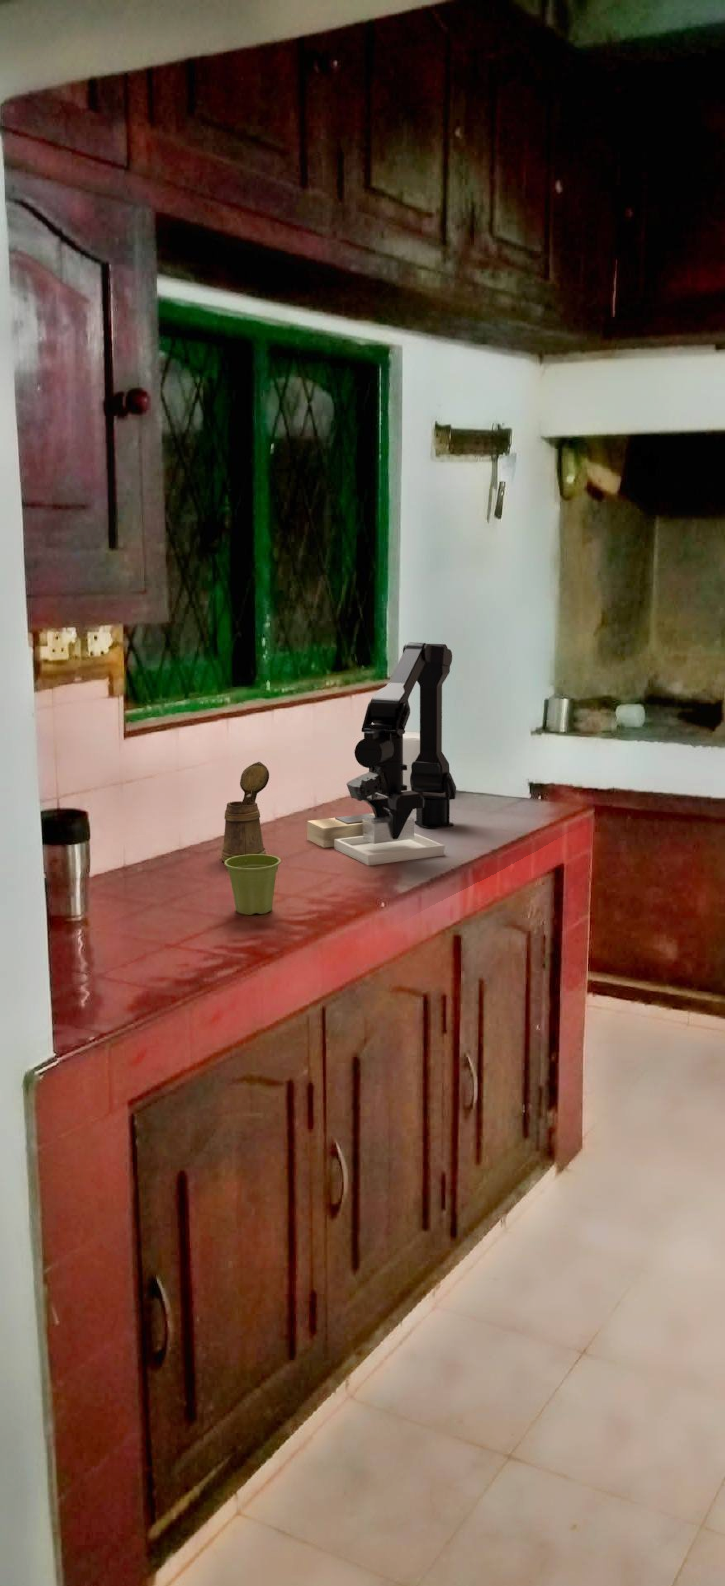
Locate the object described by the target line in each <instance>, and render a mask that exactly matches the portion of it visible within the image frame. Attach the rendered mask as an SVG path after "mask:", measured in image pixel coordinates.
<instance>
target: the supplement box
mask: <svg viewBox="0 0 725 1586" xmlns="http://www.w3.org/2000/svg"><path fill="white" fill-rule="evenodd" d="M419 754H420V732H415V731H413V732H412V731H405V734H403V764H405V765H407V770H403V784H404V785H407V791H411V784H410V775H411V772H412V769H411V765H412V763H413V762H415V760H416V758H417V757H418V755H419ZM401 792H404V791H401Z"/></svg>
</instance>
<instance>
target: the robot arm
mask: <svg viewBox="0 0 725 1586" xmlns="http://www.w3.org/2000/svg"><path fill="white" fill-rule="evenodd" d="M452 661H453V652H452V650H451V649H450V648H449V647H448V646H447V644H445V643H426V642H408V643H405V644H404V645H403V648H402V655H401V657H400V659H399V661H398V663H397V665H396V667H395V668H394V670H393V673H392V674H391V677H390V678H389V681H388V683H387V684H386V686H384V687H381V688H380V689H378V690H377V691H376V692H375V693H374V695H373V696H372V698H371V699H370V701H369V702H368V705H367V707H366V711H365V715H364V718H363V723H362V727H361V733H363V738H362V739H361V740H359V741H358V742H357V743H356V746H355V749H354V757H355V760H356V762H357V763H358V764H359V765H360V766H362V767H364V768H366V769H368V772H366V773H363V774H361V775H359V776H357V777H355V778H353V779H351V780H349V781H348V782H346V786H347V790H348V793H349V795H350V798H351V799H355V800H357V801H358V802H362V801H363V802H365V803H366V804H367V805H369V806H370V807H371V809H372V813H374V816H375V818H377V817H385V816H390V825H391V833H392V838H393V839H398V837H399V835H400V833H401V831H402V829H403V827H404V825H405V823H406V821H407V819H408V817H410V816H411V814H412V812H413V810H416V817H415V819H416V820H414V825H418V826H420V827H423V828H425V829H438V828H445V827H451V826H452V827H453V826H454V823H453V822H451V821H450V813H451V812H450V810H451V809H450V808H451V806H450V805H451V804H450V803H451V802H450V801H451V800H456V795H457V786H456V784H455V781H454V778H453V775H452V774H451V772H450V763H449V761H448V759H447V758H446V756H445V755H444V753H443V739H442V738H443V720H442V719H443V684H444V682H445V681H446V679H447V678H448V676H449V674H450V670H451V665H452V663H453V662H452ZM416 682H417V684H418V685H419V733H420V754H419V755H418V757H417V758H416V760H415V762H413V763H412V765H411V769H412V772H411V775H410V784H411V791H407V785H404V784H403V770H407V765H405V764H403V734H405V732H406V730H405V729H406V726H407V723H408V721H409V718H410V715H411V707H410V703H409V698H410V696H411V694H412V692H413V691H412V690H413V689H414V687H415V685H416ZM401 791H404V792H401Z"/></svg>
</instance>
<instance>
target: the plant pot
mask: <svg viewBox="0 0 725 1586" xmlns="http://www.w3.org/2000/svg"><path fill="white" fill-rule="evenodd" d="M281 863H282V860H281V858H280V857H278V856H275V855H271V854H266V855H264V854H249V855H240V856H235V857H232V858H229V859H227V860H226V861H225V862H224V866H225V867H226V869H227V872H228V874H229V877H230V883H231V888H232V895H233V899H234V900H233V901H234V905H235V910H236V912H237V913H239V914H242V915H246V916H251V915H254V914H260V915H264V914H267V913H269V912H271V911H272V910H273V906H274V905H273V904H274V895H275V889H276V888H275V887H276V885H275V884H276V878H277V873H278V870H279V866H280V864H281Z"/></svg>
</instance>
